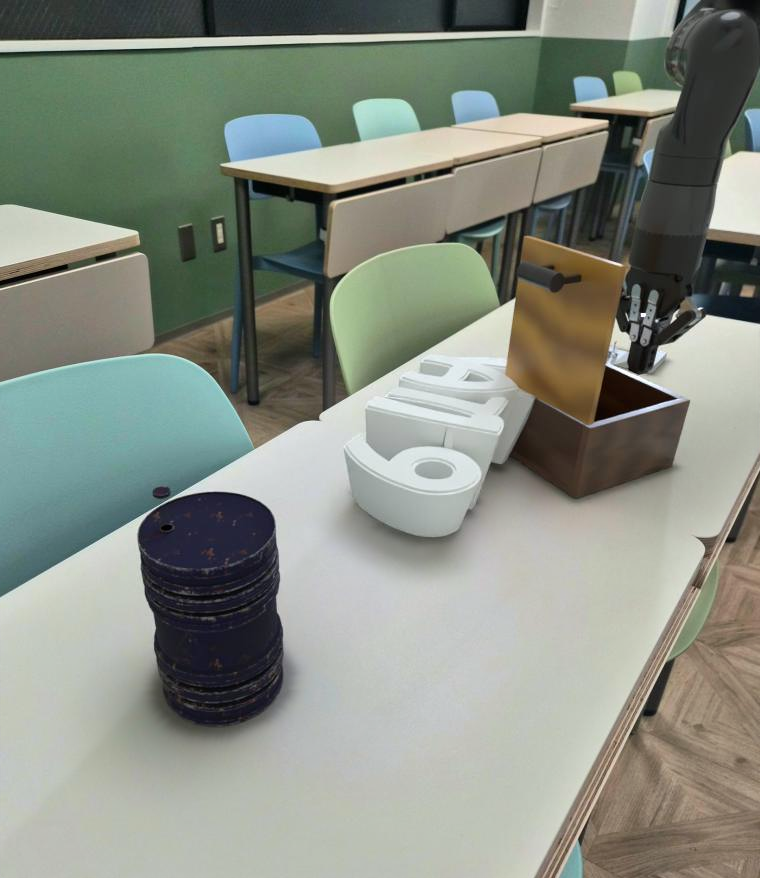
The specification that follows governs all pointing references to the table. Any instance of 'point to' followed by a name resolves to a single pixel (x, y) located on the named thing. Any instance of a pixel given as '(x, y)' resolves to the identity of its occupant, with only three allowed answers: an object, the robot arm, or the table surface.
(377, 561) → the table surface
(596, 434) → the brown wooden box
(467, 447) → the white letter sign
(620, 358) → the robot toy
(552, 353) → the lid
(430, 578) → the table surface
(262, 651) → the navy speckled cylinder
